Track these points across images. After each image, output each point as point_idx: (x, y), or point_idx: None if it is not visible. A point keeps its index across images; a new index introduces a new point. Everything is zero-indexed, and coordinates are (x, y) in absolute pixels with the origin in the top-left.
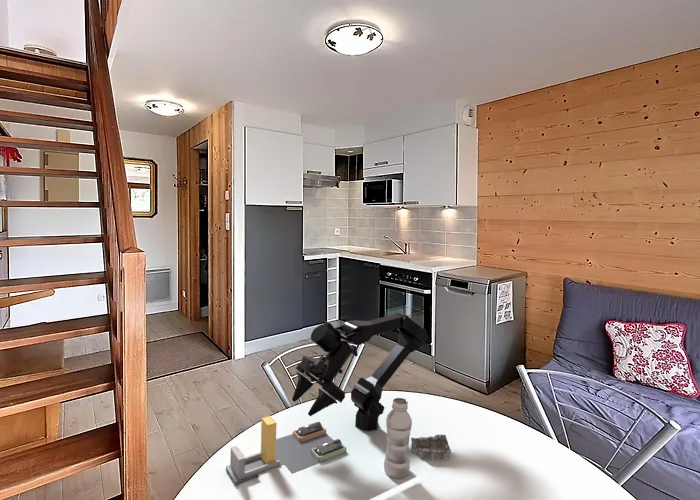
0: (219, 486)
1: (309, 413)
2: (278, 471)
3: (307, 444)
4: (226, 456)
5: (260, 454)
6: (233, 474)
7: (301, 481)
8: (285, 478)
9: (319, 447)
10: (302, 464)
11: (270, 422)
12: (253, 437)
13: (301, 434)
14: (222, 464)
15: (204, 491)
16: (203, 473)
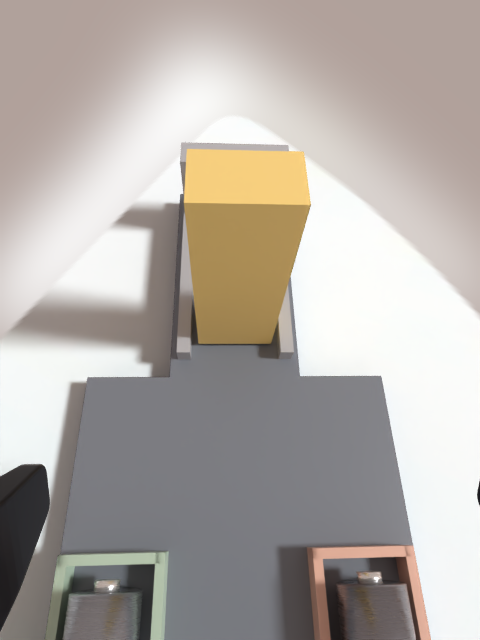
0: None
1: (7, 474)
2: (164, 352)
3: (262, 584)
4: (361, 229)
5: None
6: None
7: (38, 408)
8: (104, 357)
9: (95, 596)
10: (111, 455)
11: (209, 172)
12: (465, 358)
13: (350, 583)
14: (318, 207)
15: (210, 139)
16: None
